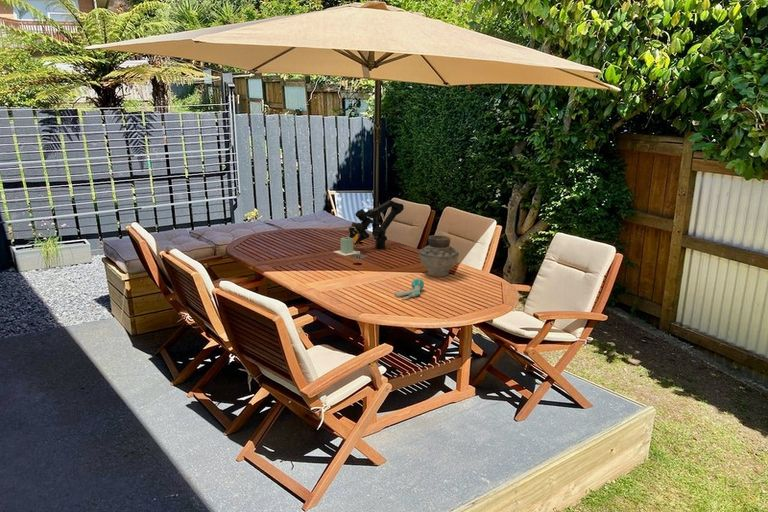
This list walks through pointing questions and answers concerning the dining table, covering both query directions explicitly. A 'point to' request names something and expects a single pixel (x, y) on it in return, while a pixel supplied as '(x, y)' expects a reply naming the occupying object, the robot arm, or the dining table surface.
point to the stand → (358, 255)
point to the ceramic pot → (438, 256)
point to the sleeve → (347, 245)
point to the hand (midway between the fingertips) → (352, 242)
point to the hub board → (344, 253)
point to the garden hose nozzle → (416, 285)
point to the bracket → (355, 238)
